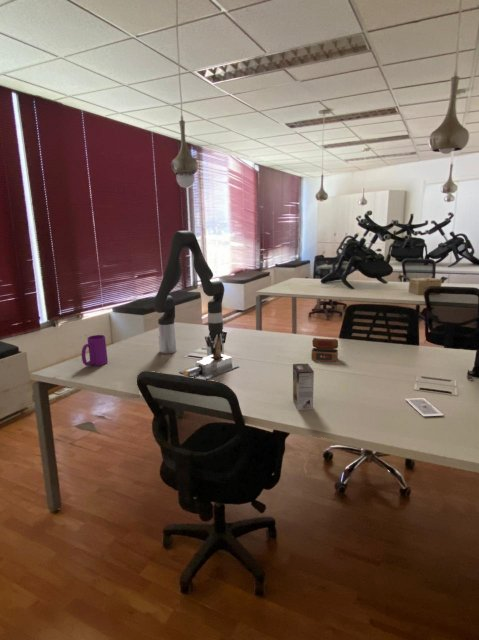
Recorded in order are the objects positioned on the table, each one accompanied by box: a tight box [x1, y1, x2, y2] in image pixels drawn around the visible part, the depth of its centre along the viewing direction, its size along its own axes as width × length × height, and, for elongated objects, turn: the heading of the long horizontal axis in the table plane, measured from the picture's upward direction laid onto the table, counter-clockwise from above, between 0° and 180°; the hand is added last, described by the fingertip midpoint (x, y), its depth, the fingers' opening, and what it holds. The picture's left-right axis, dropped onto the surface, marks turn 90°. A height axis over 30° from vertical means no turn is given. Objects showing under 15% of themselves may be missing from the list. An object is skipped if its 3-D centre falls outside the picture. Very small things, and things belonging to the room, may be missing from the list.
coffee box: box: [292, 363, 315, 411], centre depth 154 cm, size 9×6×16 cm
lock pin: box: [182, 366, 202, 377], centre depth 191 cm, size 3×13×3 cm, turn 137°
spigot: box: [213, 338, 221, 360], centre depth 200 cm, size 4×4×12 cm
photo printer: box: [205, 338, 225, 357], centre depth 218 cm, size 10×4×12 cm, turn 123°
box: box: [310, 337, 339, 363], centre depth 208 cm, size 28×28×12 cm
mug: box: [81, 334, 109, 367], centre depth 208 cm, size 9×16×15 cm, turn 156°
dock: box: [178, 354, 240, 380], centre depth 198 cm, size 18×25×5 cm
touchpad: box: [404, 397, 444, 417], centre depth 150 cm, size 8×15×2 cm, turn 2°
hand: (216, 352), depth 200 cm, fingers closed on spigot, 4 cm apart
